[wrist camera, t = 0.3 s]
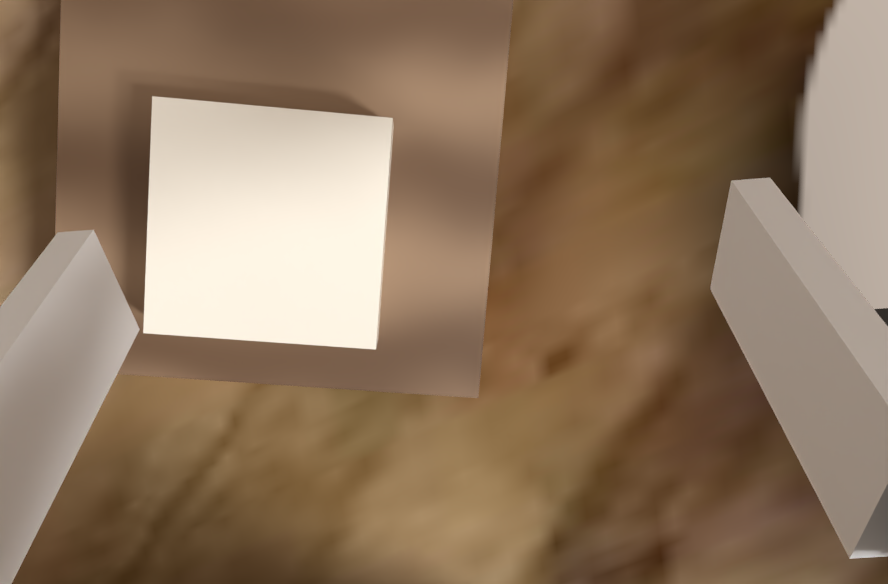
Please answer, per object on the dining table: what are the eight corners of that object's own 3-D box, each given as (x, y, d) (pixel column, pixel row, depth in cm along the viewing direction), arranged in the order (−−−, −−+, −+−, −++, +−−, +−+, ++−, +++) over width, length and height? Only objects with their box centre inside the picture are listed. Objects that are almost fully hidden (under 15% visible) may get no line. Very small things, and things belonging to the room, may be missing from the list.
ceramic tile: (378, 339, 26) (375, 349, 24) (163, 324, 26) (143, 333, 24) (393, 125, 26) (392, 117, 24) (172, 105, 25) (152, 96, 23)
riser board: (469, 375, 31) (478, 397, 27) (99, 349, 30) (51, 369, 26) (499, 26, 29) (513, -4, 25) (110, -13, 28) (62, -50, 24)
